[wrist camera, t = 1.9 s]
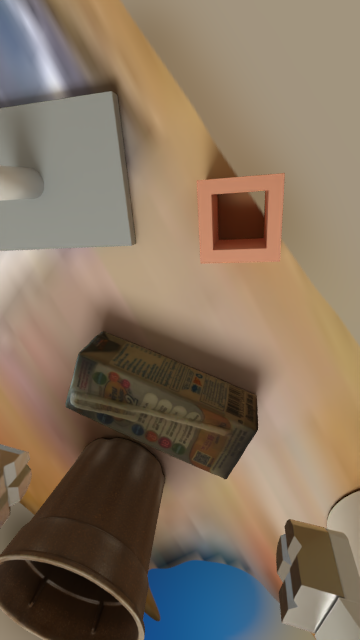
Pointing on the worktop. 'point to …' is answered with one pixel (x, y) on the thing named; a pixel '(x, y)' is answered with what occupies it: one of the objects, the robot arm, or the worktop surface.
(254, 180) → the collar
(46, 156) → the post board
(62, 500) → the plant pot
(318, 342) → the worktop surface
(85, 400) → the beverage carton
